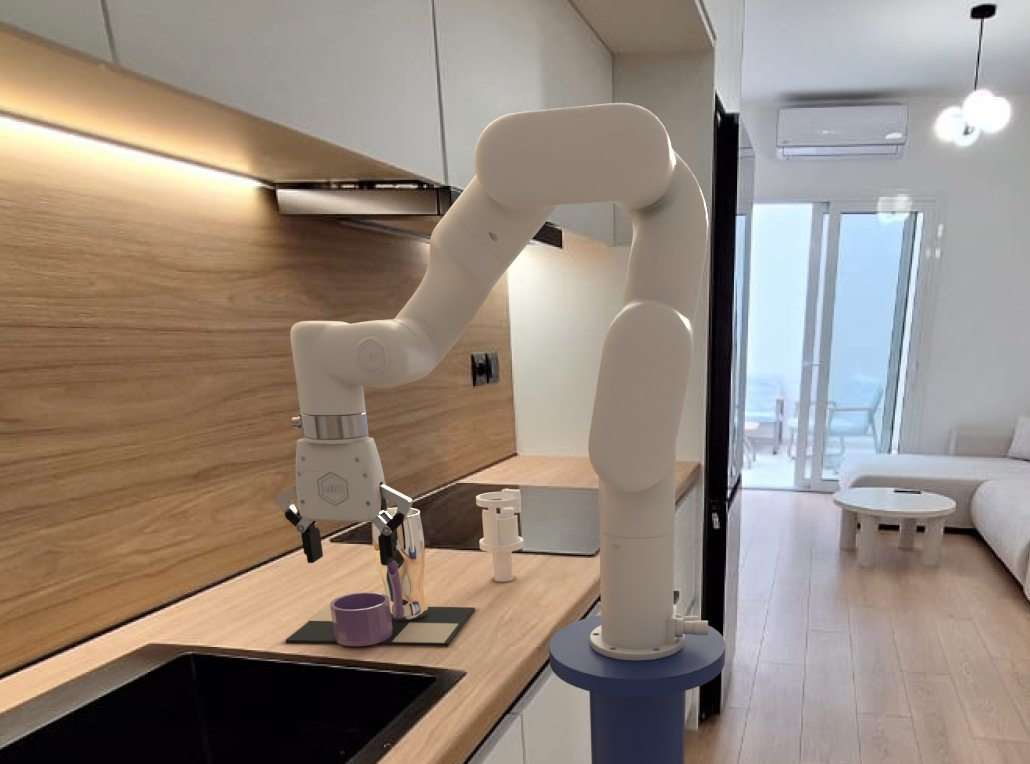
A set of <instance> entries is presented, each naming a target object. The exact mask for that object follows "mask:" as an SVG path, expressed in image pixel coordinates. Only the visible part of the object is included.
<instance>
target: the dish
mask: <svg viewBox="0 0 1030 764" xmlns="http://www.w3.org/2000/svg"><path fill="white" fill-rule="evenodd" d="M329 604H330V609H331V615H332V622H333V628H334V635H335V640H336V642H337V643H339V644H338V645H342V646H346V647H365V646H373V645H375V644H376V643H380V642H383V641H385V640H387V639H388V638H390V637H391V636H392V634H393V629H392V620H391V612H390V604H389V597H388V596H387V595H386V593H382V592H381V593H380V592H376V591H364V592H353V593H348V594H344V595H341V596H339V597H336V598H334V599H333V600H331V601H330V602H329Z"/></svg>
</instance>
